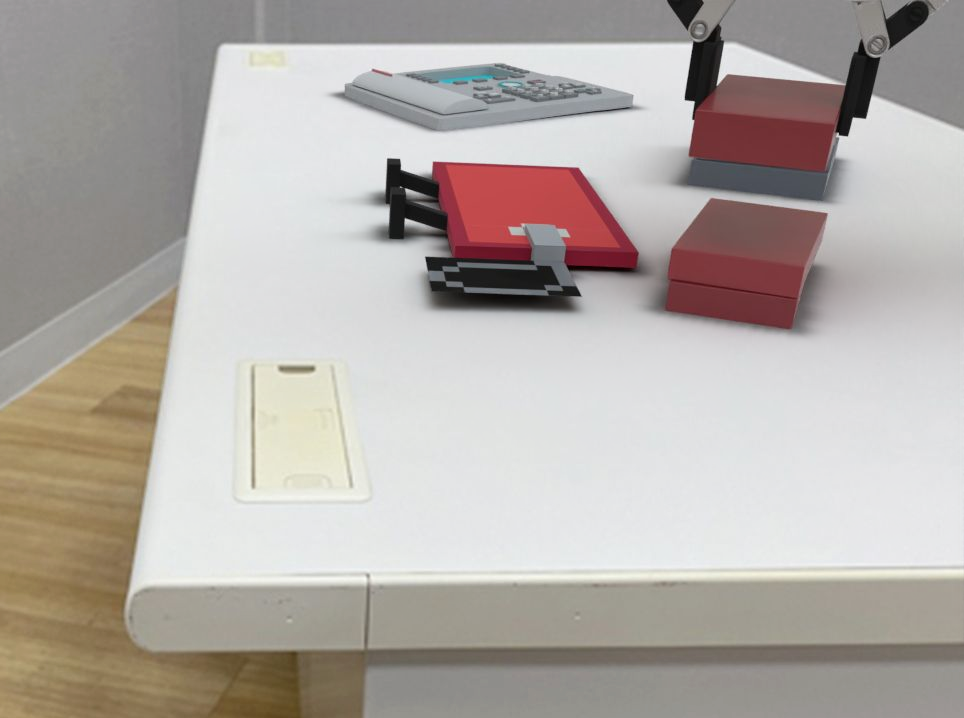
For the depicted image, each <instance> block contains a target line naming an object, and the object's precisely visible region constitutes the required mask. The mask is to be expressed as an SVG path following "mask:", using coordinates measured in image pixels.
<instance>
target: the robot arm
mask: <svg viewBox="0 0 964 718" xmlns="http://www.w3.org/2000/svg"><path fill="white" fill-rule="evenodd" d="M844 1H847V2H851V3H852V7H853V11H854V14H855V18H856V21H857V22H856V23H857V26H858V30H859V33H860V37H861V39H860V40H859V44H858V47H857V51H853V54H852V57H851V60H850V64H849V68H848V73H847V77H846V82H845V85H846V86H845V90H844V95H843V99H842V104H841V111H840V115H839V120H838V124H837V129H836V133H837V137H846V138H847V137H849V135H850V131H851V128H852V124H853V119H861V120H864V119H865V120H866V119H867V116H868V114H869V108H870V104H871V100H872V95H873V92H874V87H875V83H876V80H877V79H876V78H877V75H878V71H879V65H880V62H881V58H882V57H883V56H884V55H885V54H887V52H888V51H890V50H891V49H892V48H893V47H894V46H896V45H898V43H900V42H901V41H902V40H904V39H905V38H906V37H908V36H909V35H911V34H912V33H913V32H915V31H916V30H917V29H918V28H920V27H921V26H922V25H924V24H925V23H926V21H927V20H928V19H929V18H931V17H932V16H933V15H934V14H935V13H936V12H938V11H939V10H940V9H941V8H943V7H944V6H945V5H946V4H947V3H948V2H950V0H910V1H908V2H907V3H905V5H903V6H902V7H900V8H899V9H898V10H897V11H895V12H894V13H893V14H891V16H889V17H887V14H886V13H887V12H886V10H885V5H884V1H883V0H844ZM666 2H667V4H668V6H669V7H670V8H671V10H672V12H673V13H674V14H675V15H676V17H677V18H678V20H679V21H680V22H681V24H682V25H683V27H684V28H685V29H686V31H687V35H688V37H689V38H690V40H691V41H692V45H691V46H692V47H691V53H690V59H689V66H688V72H687V79H686V84H685V91H684V101H686V102H694V104H693V108H692V114H691V115H692V116H691V120H692V121H694V118H695V112H696V109H697V108H698V107H699V106H700V105H701V104H702V103H703V101H704V100H705V99H706V98H707V97H708V96H709V95H710V93H711V92H712V91H713V90H714V89H715V88H716V87H717V85H718V81H719V75H720V70H721V63H722V59H723V53H724V45H725V40H723V39H722V38H723V37H722V36H721V34H722V26H721V24H722V22H723V20H724V19H725V17H726V16H727V15H728V13H729V12H730V10H731V9H732V7H733V6H734V4H735V3H736V2H737V0H705V1H703V0H666Z"/></svg>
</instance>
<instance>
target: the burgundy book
mask: <svg viewBox="0 0 964 718" xmlns="http://www.w3.org/2000/svg"><path fill="white" fill-rule="evenodd" d="M845 86H846V84H838V83H837V84H836V83H829V82H828V83H826V82H817V81H806V80H794V79H785V78H773V77H764V76H762V77H761V76H752V75H741V74H731V73H727V74H726V75H725V76H724V77H723V78H722V80H720V81H719V83H717V87H716V88H715V89H714V90H713V91H712V92H711V93H710V95H709V96H708V97H707V98H706V99H705V100H704V101H703V103H702V104H701V105H700V106H699V107H698V108H697V109H696V112H695V118H694V120H693V125H692V130H691V131H692V132H691V136H690V137H691V138H690V143H689V149H688V157H689V158H694V157H696V158H705V159H713V160H722V161H731V162H739V163H748V164H757V165H766V166H774V167H783V168H792V169H800V170H809V171H818V172H825V170H826V167H827V164H828V161H829V158H830V155H831V151H832V148H833V145H834V142H835V139H836V137H838V133H836V129H837V124H838V120H839V115H840V111H841V104H842V99H843V95H844V90H845Z"/></svg>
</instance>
